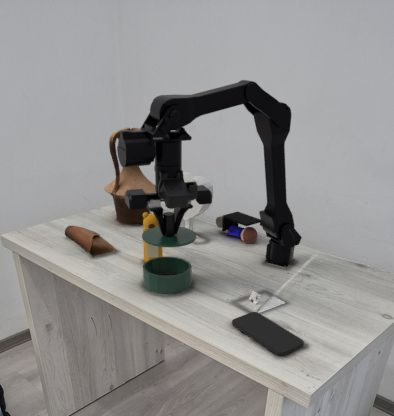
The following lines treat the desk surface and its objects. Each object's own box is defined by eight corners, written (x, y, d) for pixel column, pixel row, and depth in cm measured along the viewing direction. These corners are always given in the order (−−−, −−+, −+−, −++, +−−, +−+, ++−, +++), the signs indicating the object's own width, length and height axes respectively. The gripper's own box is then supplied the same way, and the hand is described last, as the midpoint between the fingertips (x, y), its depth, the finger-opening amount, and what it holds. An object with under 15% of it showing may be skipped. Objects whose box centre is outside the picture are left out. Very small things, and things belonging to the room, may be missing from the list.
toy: (144, 257, 126) (142, 209, 119) (162, 257, 126) (161, 209, 119) (143, 265, 122) (141, 215, 114) (162, 265, 122) (161, 216, 114)
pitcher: (135, 233, 142) (130, 134, 126) (95, 222, 149) (85, 127, 133) (169, 218, 154) (168, 126, 138) (130, 208, 161) (124, 120, 145)
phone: (280, 354, 88) (229, 320, 97) (279, 357, 88) (229, 323, 98) (306, 342, 91) (255, 310, 101) (305, 345, 92) (254, 313, 101)
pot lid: (206, 237, 109) (206, 211, 106) (177, 254, 100) (177, 227, 97) (162, 226, 114) (161, 202, 111) (131, 242, 105) (129, 215, 102)
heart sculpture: (212, 241, 137) (215, 179, 127) (201, 245, 134) (202, 182, 124) (177, 227, 146) (177, 168, 136) (165, 231, 143) (164, 171, 133)
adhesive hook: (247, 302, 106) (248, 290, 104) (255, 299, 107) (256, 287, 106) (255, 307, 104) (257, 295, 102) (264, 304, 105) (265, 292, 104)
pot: (199, 281, 115) (200, 263, 112) (174, 300, 106) (174, 280, 104) (161, 270, 119) (161, 253, 117) (134, 287, 111) (133, 268, 108)
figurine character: (214, 237, 144) (245, 247, 133) (213, 213, 140) (246, 221, 129) (230, 233, 147) (262, 242, 136) (230, 209, 143) (263, 217, 133)
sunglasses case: (118, 249, 129) (105, 232, 124) (100, 266, 128) (86, 249, 123) (90, 231, 141) (77, 214, 136) (73, 246, 140) (60, 230, 135)
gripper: (132, 175, 89) (136, 251, 98) (222, 170, 94) (218, 243, 103) (122, 162, 98) (126, 233, 106) (205, 158, 103) (203, 226, 111)
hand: (169, 234), depth 106 cm, fingers closed on pot lid, 3 cm apart
